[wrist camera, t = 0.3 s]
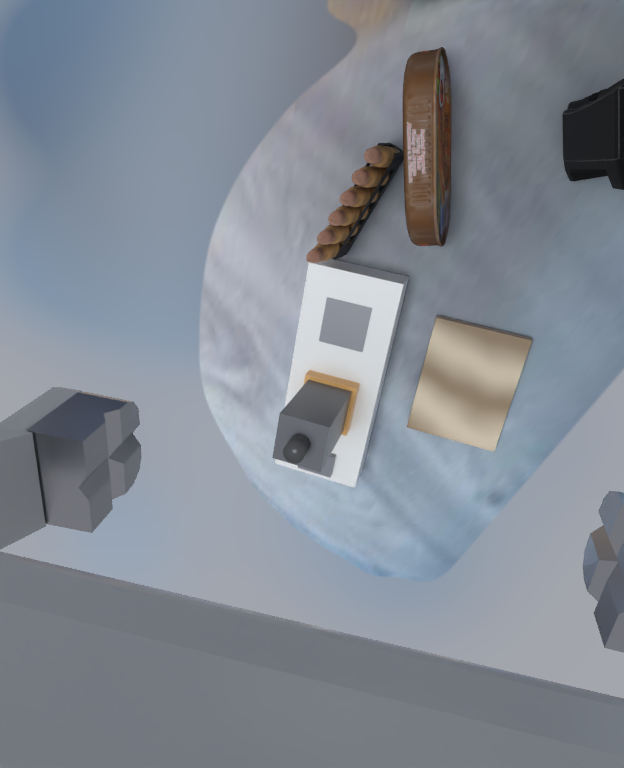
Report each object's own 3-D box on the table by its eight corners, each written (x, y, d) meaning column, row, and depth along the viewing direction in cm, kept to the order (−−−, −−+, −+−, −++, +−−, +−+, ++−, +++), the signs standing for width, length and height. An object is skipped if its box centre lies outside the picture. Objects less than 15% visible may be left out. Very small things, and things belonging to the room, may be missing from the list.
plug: (317, 360, 60) (268, 416, 46) (365, 373, 59) (329, 434, 45) (309, 405, 62) (259, 471, 48) (355, 418, 61) (317, 489, 47)
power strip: (320, 256, 57) (306, 263, 53) (409, 276, 55) (402, 286, 51) (286, 447, 66) (272, 466, 61) (362, 469, 64) (353, 491, 60)
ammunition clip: (345, 255, 56) (312, 276, 45) (330, 244, 56) (292, 263, 46) (406, 153, 52) (385, 149, 41) (389, 142, 52) (363, 135, 41)
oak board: (436, 315, 56) (436, 317, 55) (531, 337, 54) (532, 340, 53) (408, 423, 60) (406, 427, 60) (494, 447, 59) (494, 451, 58)
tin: (450, 240, 53) (443, 252, 46) (415, 241, 54) (403, 253, 46) (451, 56, 48) (444, 35, 41) (413, 61, 49) (400, 42, 41)
